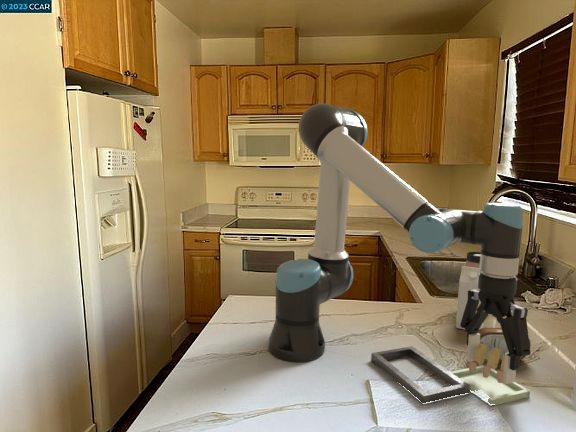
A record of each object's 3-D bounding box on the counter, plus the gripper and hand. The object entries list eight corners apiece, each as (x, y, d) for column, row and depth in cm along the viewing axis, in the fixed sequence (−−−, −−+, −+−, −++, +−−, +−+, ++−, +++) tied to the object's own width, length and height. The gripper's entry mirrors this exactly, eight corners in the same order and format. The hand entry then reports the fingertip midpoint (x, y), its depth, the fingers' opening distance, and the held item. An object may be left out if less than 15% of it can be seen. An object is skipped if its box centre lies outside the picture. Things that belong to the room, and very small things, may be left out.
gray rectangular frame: (423, 405, 83) (423, 396, 83) (371, 360, 102) (371, 353, 101) (469, 394, 88) (470, 385, 87) (411, 353, 106) (412, 346, 106)
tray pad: (491, 406, 83) (491, 400, 83) (449, 377, 94) (449, 371, 94) (529, 396, 87) (529, 390, 87) (484, 370, 98) (485, 364, 98)
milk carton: (459, 320, 129) (463, 263, 127) (483, 325, 126) (488, 267, 123) (455, 328, 123) (460, 268, 121) (481, 333, 120) (486, 272, 117)
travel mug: (464, 312, 136) (469, 255, 134) (460, 305, 144) (464, 251, 141) (488, 315, 135) (494, 257, 132) (483, 307, 142) (488, 252, 139)
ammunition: (481, 341, 95) (468, 352, 89) (515, 351, 90) (504, 364, 84) (480, 360, 96) (467, 373, 90) (514, 371, 90) (502, 385, 85)
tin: (523, 356, 106) (526, 326, 104) (531, 362, 102) (534, 331, 101) (467, 356, 105) (470, 326, 104) (473, 362, 102) (476, 331, 101)
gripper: (559, 286, 78) (547, 393, 81) (472, 261, 99) (465, 347, 102) (531, 290, 76) (521, 400, 79) (448, 263, 96) (442, 351, 99)
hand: (489, 370), depth 90 cm, fingers closed on ammunition, 9 cm apart
